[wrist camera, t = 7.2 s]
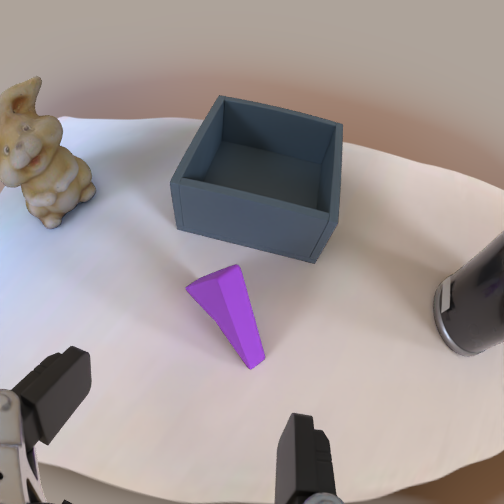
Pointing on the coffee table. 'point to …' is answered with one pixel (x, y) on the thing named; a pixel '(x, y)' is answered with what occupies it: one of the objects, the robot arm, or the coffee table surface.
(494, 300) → the robot arm
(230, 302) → the arrowhead
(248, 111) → the bin
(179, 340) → the coffee table surface
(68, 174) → the figurine
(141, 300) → the coffee table surface
